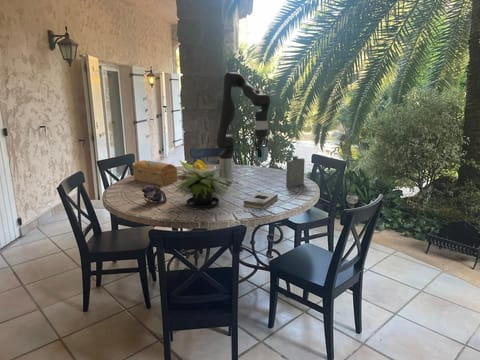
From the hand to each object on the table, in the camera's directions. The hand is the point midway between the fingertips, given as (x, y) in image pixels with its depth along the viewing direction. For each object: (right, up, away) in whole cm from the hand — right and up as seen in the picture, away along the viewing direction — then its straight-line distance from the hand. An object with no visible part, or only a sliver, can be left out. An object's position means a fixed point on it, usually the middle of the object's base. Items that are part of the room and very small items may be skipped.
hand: (261, 156), depth 213 cm
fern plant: (-34, -28, -13) cm, 46 cm away
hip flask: (+24, -18, +24) cm, 39 cm away
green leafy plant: (-42, -19, +23) cm, 52 cm away
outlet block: (-1, -27, -11) cm, 29 cm away
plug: (0, -2, +1) cm, 2 cm away
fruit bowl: (-46, -11, +57) cm, 74 cm away
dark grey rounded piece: (-63, -28, -9) cm, 70 cm away
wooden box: (-74, -15, +41) cm, 86 cm away
